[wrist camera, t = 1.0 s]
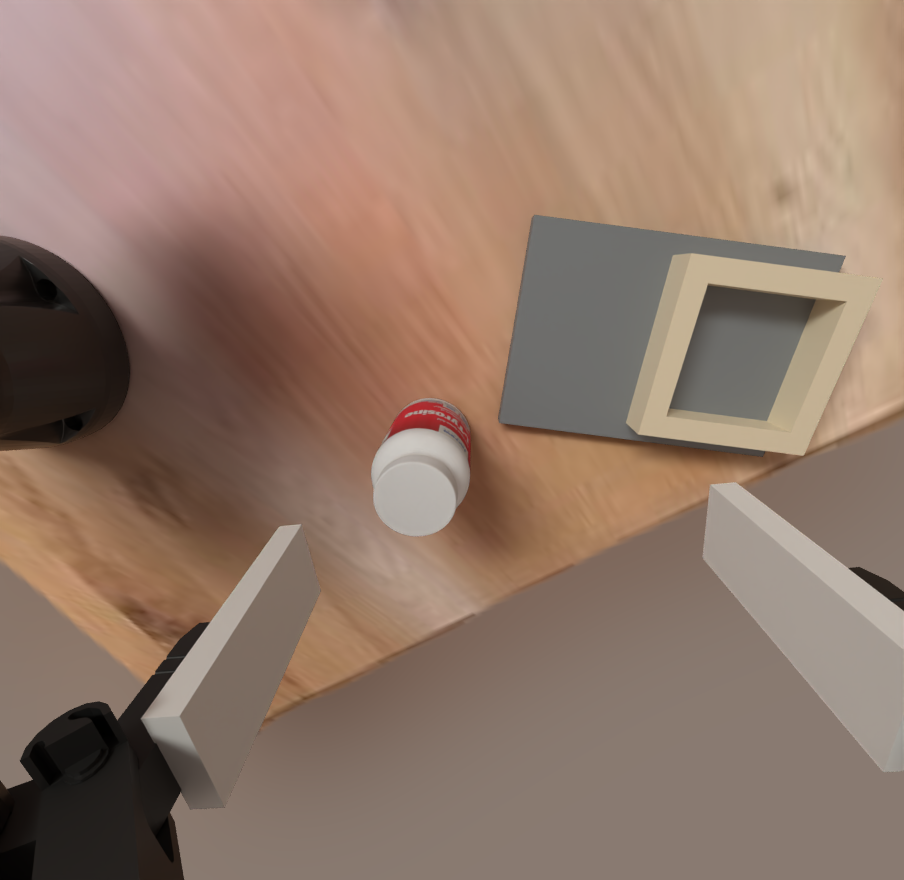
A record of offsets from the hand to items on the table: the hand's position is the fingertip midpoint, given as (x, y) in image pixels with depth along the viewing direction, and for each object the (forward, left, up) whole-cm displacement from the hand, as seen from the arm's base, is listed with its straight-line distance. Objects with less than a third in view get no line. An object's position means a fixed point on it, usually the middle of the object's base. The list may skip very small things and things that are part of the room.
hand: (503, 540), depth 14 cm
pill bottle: (-4, -4, -20) cm, 21 cm away
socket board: (+11, +5, -20) cm, 23 cm away
